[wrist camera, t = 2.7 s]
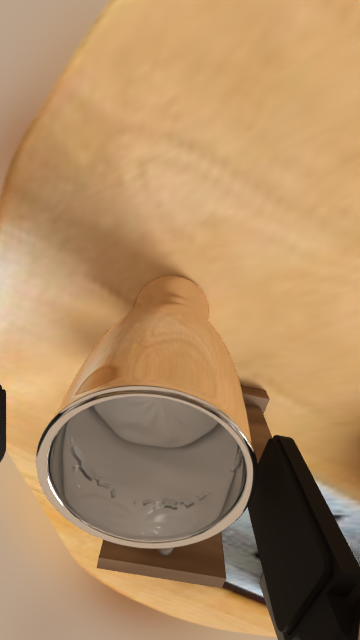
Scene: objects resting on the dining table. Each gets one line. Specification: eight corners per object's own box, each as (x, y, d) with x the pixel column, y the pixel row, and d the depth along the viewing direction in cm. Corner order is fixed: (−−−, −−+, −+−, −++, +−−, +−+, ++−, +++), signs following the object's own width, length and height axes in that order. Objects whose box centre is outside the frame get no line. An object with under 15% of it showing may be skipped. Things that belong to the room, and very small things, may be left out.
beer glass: (121, 336, 23) (17, 527, 9) (141, 257, 20) (42, 347, 6) (198, 359, 23) (216, 571, 9) (227, 285, 21) (309, 421, 7)
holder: (136, 363, 24) (117, 421, 17) (265, 391, 24) (295, 456, 18) (111, 492, 30) (89, 573, 23) (215, 511, 30) (223, 595, 24)
